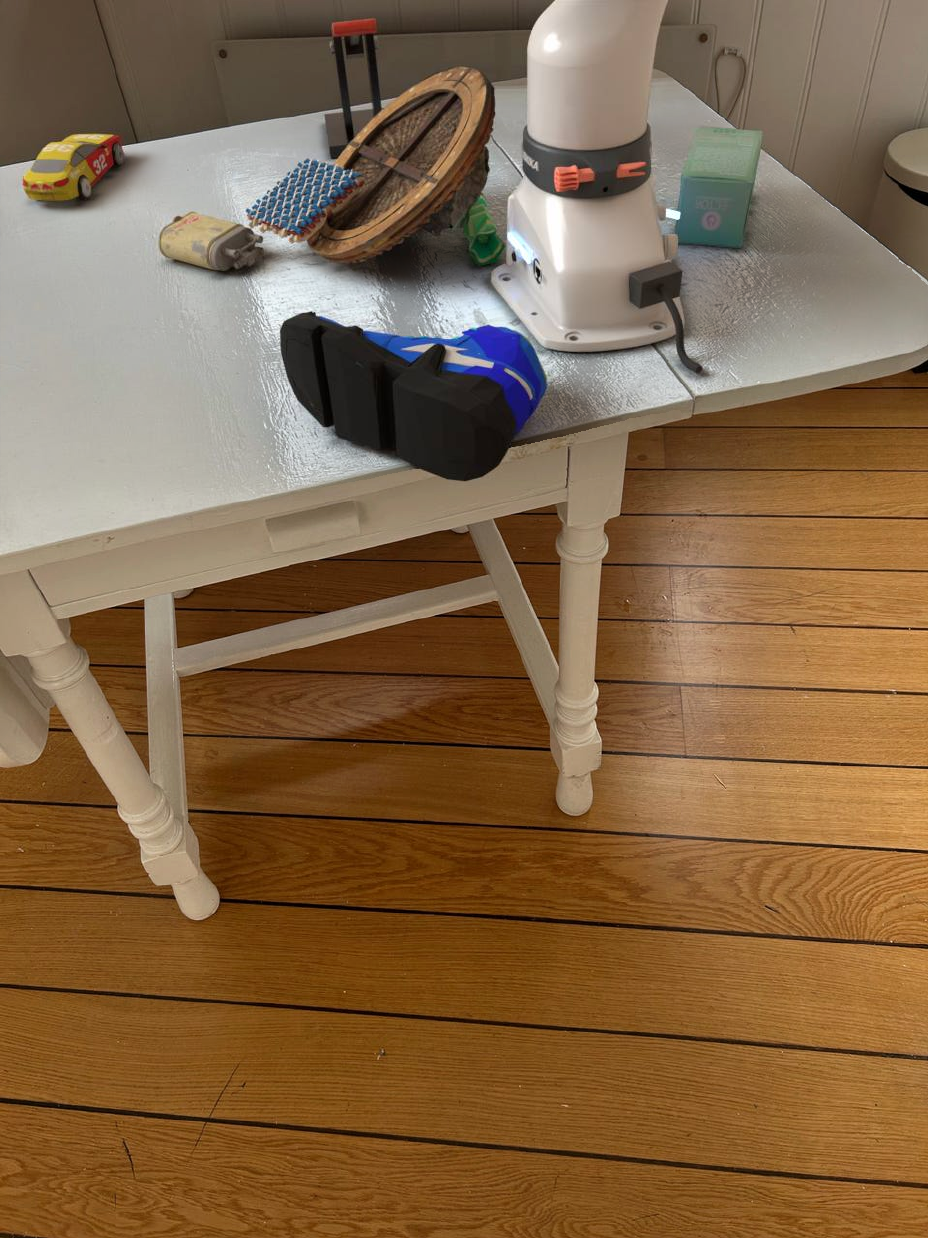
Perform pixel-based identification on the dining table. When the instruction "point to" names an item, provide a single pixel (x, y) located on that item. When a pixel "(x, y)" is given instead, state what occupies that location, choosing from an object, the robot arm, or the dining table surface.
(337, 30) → the lever
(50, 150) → the toy car
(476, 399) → the sneaker
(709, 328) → the dining table surface
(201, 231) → the lighter
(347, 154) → the round wicker shield
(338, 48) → the bracket
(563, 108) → the robot arm
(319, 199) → the woven mat
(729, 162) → the box
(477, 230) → the candy
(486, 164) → the rock
